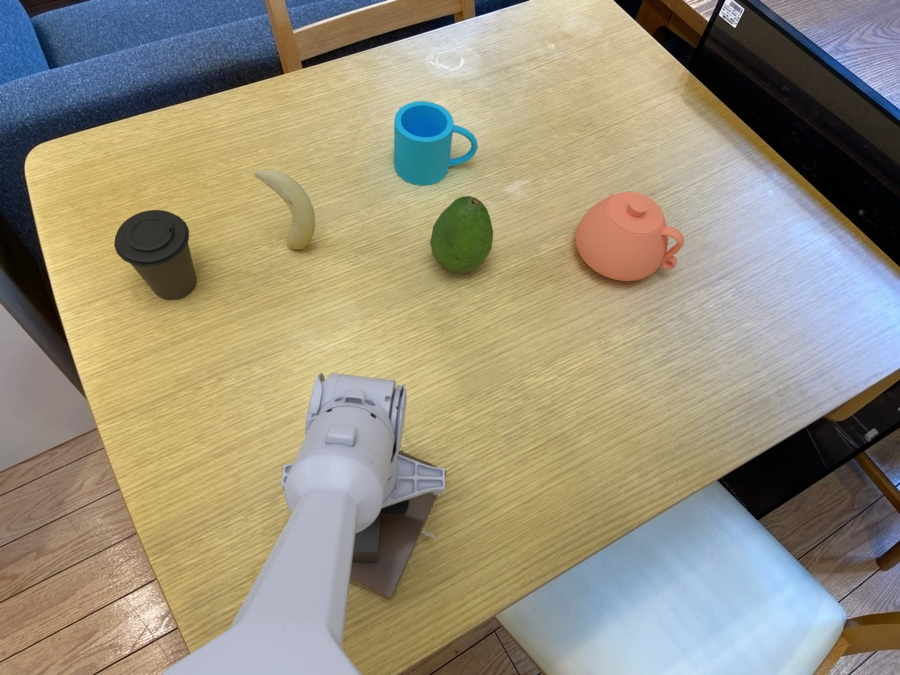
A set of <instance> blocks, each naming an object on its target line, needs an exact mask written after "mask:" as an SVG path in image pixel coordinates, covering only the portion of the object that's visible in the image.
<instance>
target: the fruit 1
mask: <svg viewBox="0 0 900 675" xmlns="http://www.w3.org/2000/svg"><path fill="white" fill-rule="evenodd" d="M254 177H255V178H256V179H258V180H260V181H261V182H262V183H264V184H265V185H266V186H267V187H268V188H270V189H271V190H272V191H273V192H275V193H276V194H277V195H278V196H279V197H280V199H282V200H283V202H284V203H285V205H286V206H287V207H288V209H289V211H290V214H291V222H292V223H291V226H290V230H289V233H288V236H287V242H286V244H287V245H286V246H287V247H288V249H290V250H303V249H305V248H306V247H307V246H308V245H309V243H310V242H312V239H313V238H314V235H315V230H316V214H315V209H314V206H313V204H312V201H311V198H310V197H309V194H307V192H306V191H305V189H304V188H303V187H302V186H301V184H300V183H299V182H298V181H297V180H295V178H293V177H292V176H290V175H288V174H287V173H286V172H283V171H280V170H276V169H265V170H255V171H254Z"/></svg>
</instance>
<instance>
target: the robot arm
mask: <svg viewBox="0 0 900 675" xmlns="http://www.w3.org/2000/svg"><path fill="white" fill-rule="evenodd" d="M325 378H326V377H325V375H324V373H323V372H319V373H318V375H317V377H316V378H315V382H314V385H313V387H312V390H311V394H310V398H309V402H308V406H307V411H306V415H305V416H306V417H305V427H304V428H305V431H304V438H303V440H302V442H301V445H300V447H299V449H298V451H297V454H296V456H295V458H294V461H293V463H284V464H283V466H282V475H281V482H280V487H281V489H282V490H283V493H284V501H285V504H286V507H287V509H288V511H289V512H290V516H289V518H288V519H287V521H286V523H285V525H284V527H283V529H282V531H281V532H280V534H279V536H278V538H277V540H276V541H275V543H274V545H273V547H272V549H271V551H270V553H269V555H268V556H267V558H266V560H265V562H264V564H263V566H262V568H261V569H260V571H259V573H258V575H257V576H256V579H255V580H254V582H253V584H252V586H251V588H250V590H249V592H248V593H247V595H246V597H245V598H244V600H243V602H242V604H241V606H240V608H239V610H238V611H237V614H236V616H235V617H234V619H233V621H232V623H231V624H230V626H229V628H228V629H227V630H226V631H224V632H223V633H221V634H219V635H218V636H216V637H214V638H213V639H211V640H209V641H208V642H206V643H205V644H203V645H202V646H200V647H198V648H197V649H195V650H193V651H192V652H191V653H189V654H188V655H185V656H184V657H183V658H181V659H179V660H178V661H177V662H174V663H173V664H172V665H170V666H168V667H167V668H166V669H165V670H163V672H161V674H160V675H364V674H363V673H362V672H361V671H360V669H359V668H358V667H357V666H356V664H355V663H354V662H353V661H352V659H351V658H350V657H349V655H348V654H347V653H346V650H345V649H344V645H343V644H344V635H345V626H346V618H347V608H348V603H349V602H348V599H349V592H350V584H351V583H350V576H351V567H352V558H353V550H354V541H355V533H358V532H360V531H362V530H364V529H365V528H367V527H368V526H369V525H371V524H372V523H373V522H374V520H375V519H376V518H377V516H378V515H379V513H380V511H381V515H384V516H401V515H405V513H406V512H407V510H408V507H409V499H411V498H414V497H417V496H419V495H422V494H426V493H430V492H432V494H433V495H437V496H444V494H445V490H446V476H445V470H446V468H445V467H441V466H440V467H439V466H437V467H432V466H428V465H425V464H422V463H420V462H417V461H415V460H412V459H409V458H407V457H404V456H401V455H399V454H398V453H399V450H400V451H401V447H402V442H403V436H404V428H405V419H406V411H407V401H408V394H407V389H406V384H405V383H403V384H397V383H396V382H397V381H396V380H395V379H386V378H379V377H378V378H377V377H372V376H371V377H370V376H360V375H354V374H344V373H335V372H330V373H329V374H328V376H327V379H325Z"/></svg>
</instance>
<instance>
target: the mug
mask: <svg viewBox="0 0 900 675" xmlns="http://www.w3.org/2000/svg"><path fill="white" fill-rule="evenodd" d="M393 120H394V123H393V126H394V127H393V166H394V170H395V173H396V174H397V175H398V177H399V178H401V179H402V180H403V181H405V182H407V183H409V184H412V185H416V186H431V185H434V184H438V183H440V181H442V180H443V179H445V178H446V176H447V175H448V173H449V168H450V167H453V166H457V165H458V166H459V165H461V164H465V163H466V162H468V161H470V160H471V159H472V158H473V157H475V155H476V153H477V152H478V148H479V145H478V140H477V138H476V137H475V135H474V133H472V132H471V131H470V130H468V129H467V128H465V127H463V126H460V125H457V124H455V122H454V118H453V115H452V114H451V112H450V111H449V110H448V109H447V108H445V107H443V105H441V104H438V103H435V102H432V101H425V100H418V101H413V102H409V103H406V104H405V105H402V106H401V107H400V108H399V109H398V110H397V111H396V113H395V116H394V119H393ZM453 133H455V134H459V135H461V136H463V137H465V138H466V139H467V140H468V141H469V142H470V148H469V150H468V151H467V152H466V153H464V154H463V155H461V156H457V157H453V158H451V151H452V143H453V135H454V134H453Z"/></svg>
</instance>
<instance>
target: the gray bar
mask: <svg viewBox="0 0 900 675" xmlns="http://www.w3.org/2000/svg"><path fill="white" fill-rule="evenodd" d="M381 516H382V515H381V511H380V513H379V515H378V516H377V518H376V519H375V520H374V522H373V523H372V524H371V525H369V526H368V527H367V528H365V529H364V530H362V531H360V532H358V533H355V541H354V550H353V558H352V562H366V563H379V552H380V534H381Z"/></svg>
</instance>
